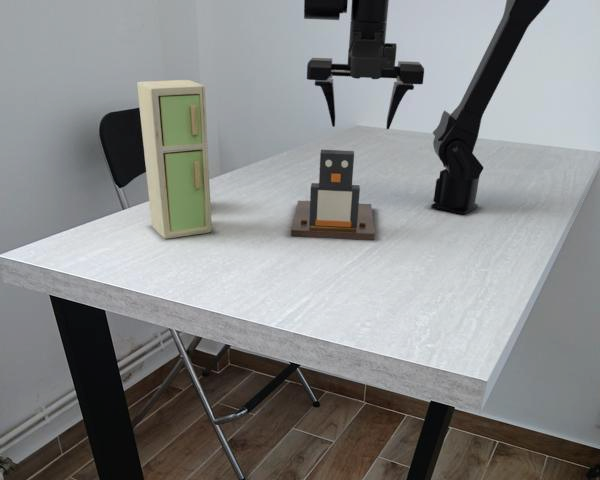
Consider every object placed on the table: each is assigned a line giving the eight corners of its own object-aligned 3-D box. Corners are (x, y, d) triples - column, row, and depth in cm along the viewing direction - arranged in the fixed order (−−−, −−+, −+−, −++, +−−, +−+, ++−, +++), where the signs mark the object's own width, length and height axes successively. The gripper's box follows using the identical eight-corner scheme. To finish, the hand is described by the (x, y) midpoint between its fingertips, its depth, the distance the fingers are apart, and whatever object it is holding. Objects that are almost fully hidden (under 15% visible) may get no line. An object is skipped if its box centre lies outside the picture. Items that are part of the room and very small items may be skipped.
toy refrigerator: (164, 241, 97) (151, 88, 85) (150, 227, 102) (136, 81, 91) (214, 234, 100) (207, 86, 89) (197, 221, 106) (189, 79, 94)
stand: (373, 240, 100) (374, 229, 99) (290, 236, 101) (291, 225, 100) (370, 209, 114) (371, 200, 113) (297, 206, 114) (298, 196, 114)
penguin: (356, 223, 103) (356, 229, 100) (310, 220, 103) (309, 227, 101) (362, 151, 97) (362, 155, 94) (312, 149, 97) (311, 153, 95)
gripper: (306, 21, 95) (303, 134, 103) (433, 26, 94) (419, 139, 102) (310, 18, 104) (307, 122, 112) (426, 22, 103) (413, 126, 112)
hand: (360, 127), depth 109 cm, fingers open, 9 cm apart
